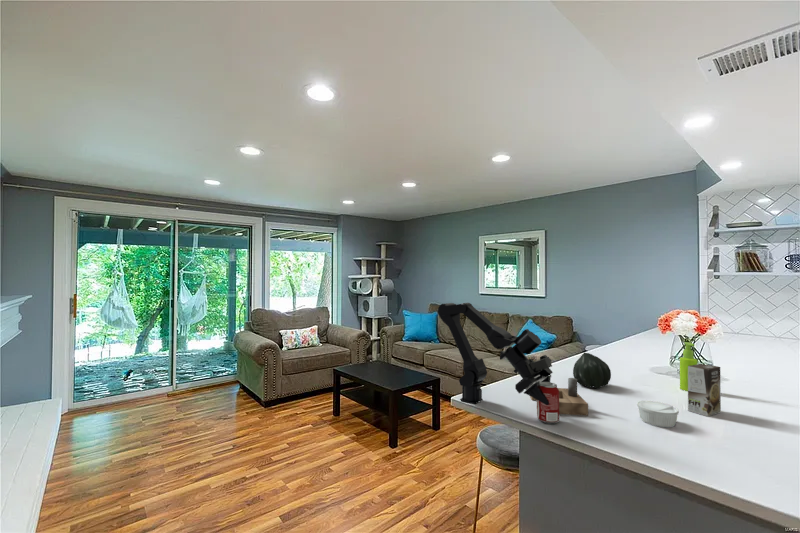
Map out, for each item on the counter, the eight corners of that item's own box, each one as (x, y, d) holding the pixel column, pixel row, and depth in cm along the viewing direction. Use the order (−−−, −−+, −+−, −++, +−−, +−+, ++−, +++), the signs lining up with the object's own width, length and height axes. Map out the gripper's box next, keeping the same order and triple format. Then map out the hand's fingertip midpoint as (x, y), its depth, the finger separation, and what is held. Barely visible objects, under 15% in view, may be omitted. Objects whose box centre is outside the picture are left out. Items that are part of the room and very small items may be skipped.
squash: (624, 375, 159) (599, 345, 167) (606, 382, 150) (581, 350, 159) (599, 391, 168) (577, 362, 176) (581, 399, 159) (559, 367, 168)
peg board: (539, 412, 131) (539, 383, 131) (530, 396, 148) (530, 371, 148) (587, 415, 128) (587, 386, 128) (573, 399, 145) (573, 373, 145)
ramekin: (680, 432, 115) (680, 415, 115) (637, 424, 121) (637, 407, 121) (676, 420, 125) (676, 404, 125) (637, 413, 131) (637, 398, 131)
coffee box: (708, 417, 128) (708, 369, 128) (687, 410, 133) (686, 365, 134) (721, 412, 132) (721, 366, 132) (700, 406, 138) (700, 362, 138)
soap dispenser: (683, 391, 155) (682, 343, 156) (678, 387, 162) (677, 340, 162) (700, 393, 153) (700, 344, 154) (694, 388, 160) (694, 341, 160)
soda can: (561, 425, 119) (561, 388, 120) (539, 424, 121) (538, 386, 121) (556, 417, 126) (556, 382, 126) (535, 416, 127) (535, 380, 128)
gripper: (524, 352, 119) (560, 394, 112) (546, 344, 133) (579, 381, 126) (501, 372, 125) (534, 414, 117) (525, 362, 138) (555, 399, 131)
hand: (552, 401), depth 122 cm, fingers closed on soda can, 6 cm apart
